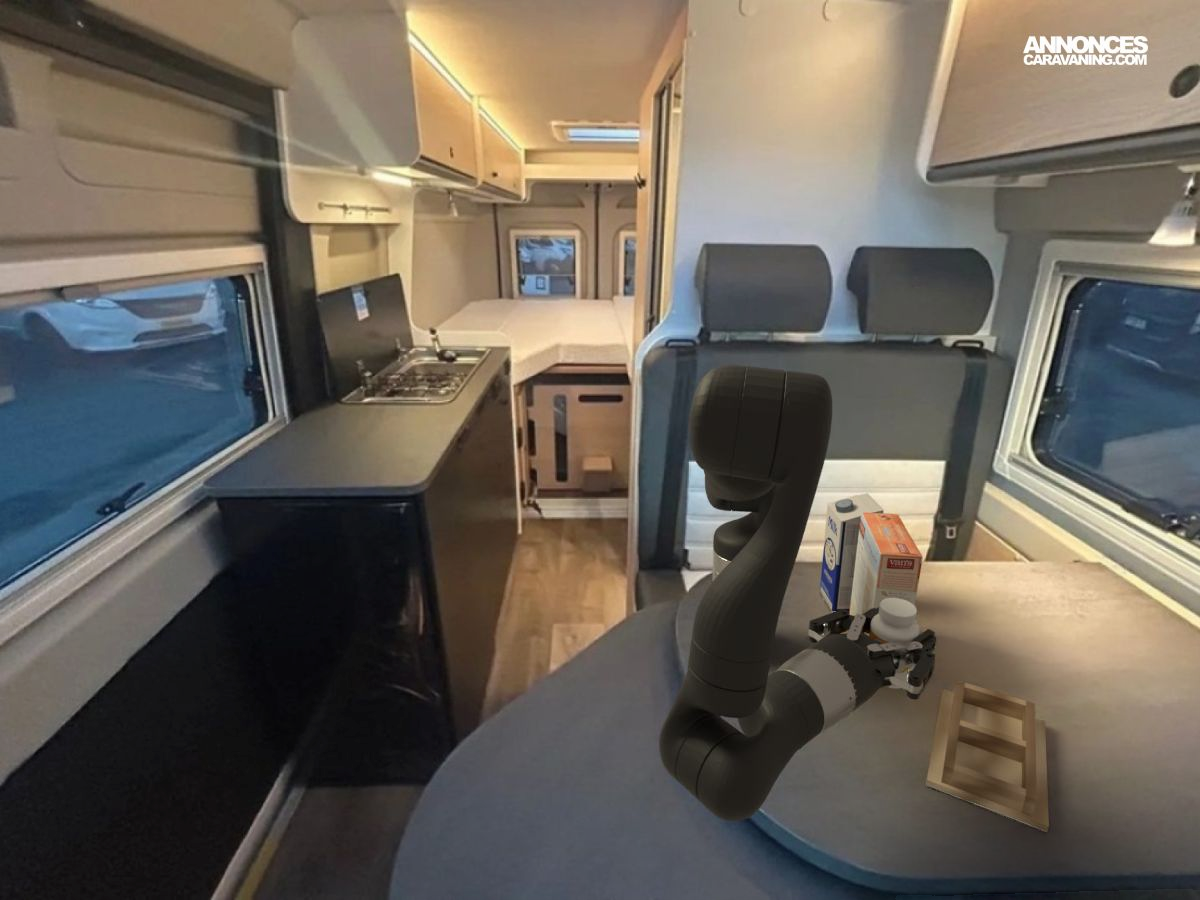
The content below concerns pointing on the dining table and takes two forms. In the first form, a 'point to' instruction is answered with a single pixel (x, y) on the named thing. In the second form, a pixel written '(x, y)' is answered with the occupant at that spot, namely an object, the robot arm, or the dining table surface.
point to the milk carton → (843, 547)
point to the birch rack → (991, 753)
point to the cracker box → (884, 563)
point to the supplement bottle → (895, 623)
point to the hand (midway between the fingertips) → (905, 625)
